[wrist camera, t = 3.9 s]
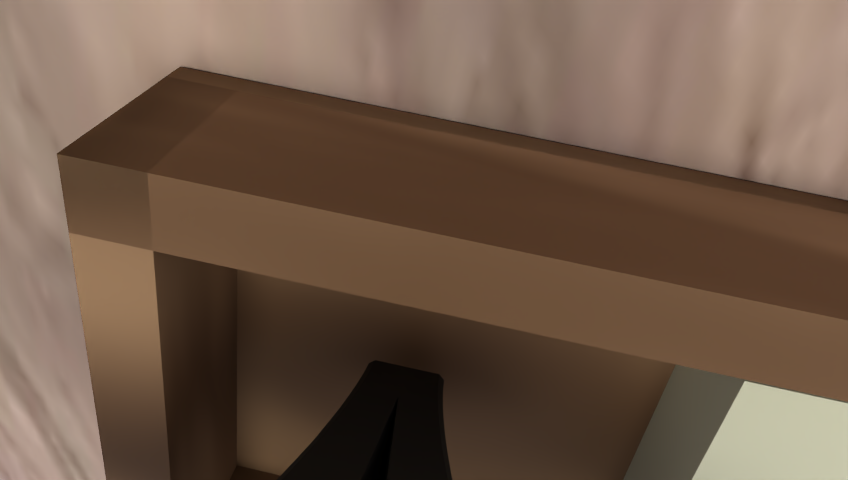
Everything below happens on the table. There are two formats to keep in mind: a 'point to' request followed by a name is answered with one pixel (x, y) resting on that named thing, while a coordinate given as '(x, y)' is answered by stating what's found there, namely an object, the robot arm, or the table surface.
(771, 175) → the table surface
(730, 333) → the slide box
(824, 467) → the cover slab
